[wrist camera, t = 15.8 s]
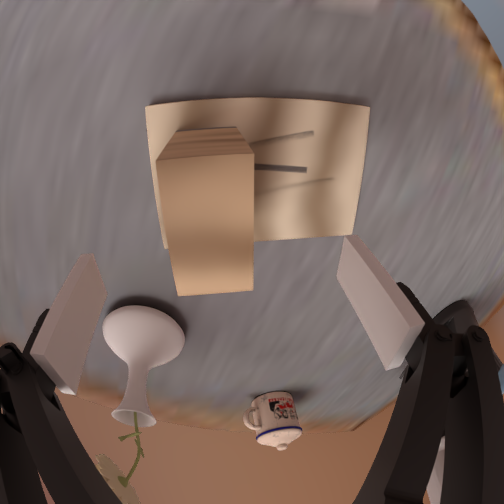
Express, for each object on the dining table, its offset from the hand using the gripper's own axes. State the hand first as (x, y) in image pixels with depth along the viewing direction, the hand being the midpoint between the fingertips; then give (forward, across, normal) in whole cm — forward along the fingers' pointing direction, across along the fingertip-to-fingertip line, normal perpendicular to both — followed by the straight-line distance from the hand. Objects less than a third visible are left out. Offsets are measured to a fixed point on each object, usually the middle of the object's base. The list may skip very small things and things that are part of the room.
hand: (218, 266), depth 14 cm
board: (+14, -4, -1) cm, 15 cm away
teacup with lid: (+15, -6, +45) cm, 48 cm away
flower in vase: (+14, +12, +20) cm, 28 cm away
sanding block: (+12, +1, -1) cm, 13 cm away
